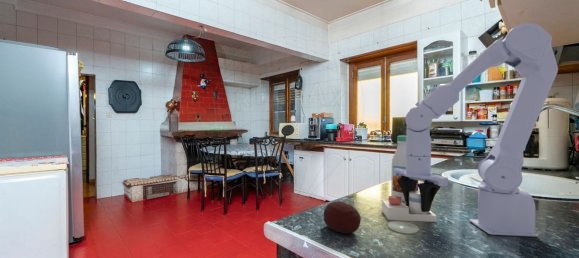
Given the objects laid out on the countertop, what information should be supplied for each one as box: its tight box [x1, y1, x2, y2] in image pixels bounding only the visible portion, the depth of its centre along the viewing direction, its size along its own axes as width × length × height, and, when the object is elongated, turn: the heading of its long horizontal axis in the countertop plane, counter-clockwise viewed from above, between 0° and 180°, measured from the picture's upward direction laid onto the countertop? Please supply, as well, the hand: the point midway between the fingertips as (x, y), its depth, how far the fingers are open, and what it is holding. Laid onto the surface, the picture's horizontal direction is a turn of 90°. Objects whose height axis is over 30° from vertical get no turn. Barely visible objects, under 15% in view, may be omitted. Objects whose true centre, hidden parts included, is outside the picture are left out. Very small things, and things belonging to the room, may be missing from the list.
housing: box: [381, 199, 437, 223], centre depth 66 cm, size 11×6×3 cm, turn 83°
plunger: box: [388, 195, 402, 205], centre depth 67 cm, size 3×3×4 cm
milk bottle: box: [390, 135, 419, 203], centre depth 81 cm, size 8×8×20 cm
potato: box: [323, 200, 362, 234], centre depth 58 cm, size 7×10×6 cm
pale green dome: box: [387, 220, 420, 235], centre depth 59 cm, size 6×6×1 cm
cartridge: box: [409, 190, 427, 214], centre depth 66 cm, size 4×4×6 cm
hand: (417, 208), depth 66 cm, fingers closed on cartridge, 4 cm apart
